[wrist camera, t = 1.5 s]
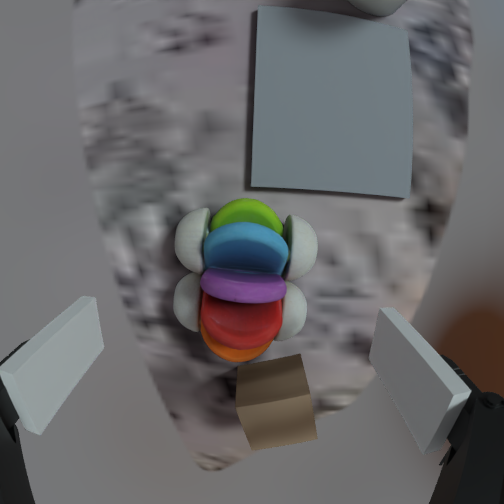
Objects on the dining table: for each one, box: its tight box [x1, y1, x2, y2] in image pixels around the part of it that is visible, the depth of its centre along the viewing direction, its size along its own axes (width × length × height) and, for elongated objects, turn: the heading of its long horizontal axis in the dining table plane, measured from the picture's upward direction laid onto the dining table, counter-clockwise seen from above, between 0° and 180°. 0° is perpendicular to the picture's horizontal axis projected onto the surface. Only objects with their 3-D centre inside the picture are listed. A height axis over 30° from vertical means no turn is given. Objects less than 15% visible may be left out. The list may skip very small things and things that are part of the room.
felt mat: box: [251, 5, 413, 198], centre depth 18 cm, size 13×11×1 cm
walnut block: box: [235, 354, 317, 450], centre depth 22 cm, size 5×5×5 cm
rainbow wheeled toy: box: [173, 198, 318, 362], centre depth 18 cm, size 8×10×7 cm
